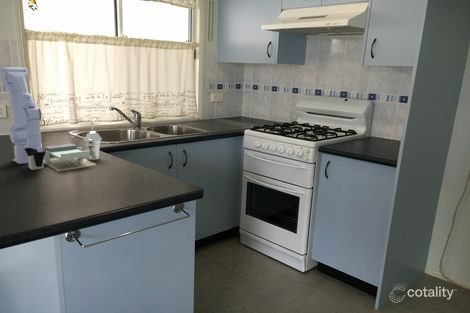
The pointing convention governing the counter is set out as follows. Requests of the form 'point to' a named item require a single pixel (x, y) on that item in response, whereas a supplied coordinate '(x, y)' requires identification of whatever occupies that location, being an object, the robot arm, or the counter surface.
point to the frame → (66, 162)
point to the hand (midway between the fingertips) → (36, 164)
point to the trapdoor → (66, 151)
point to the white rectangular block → (33, 163)
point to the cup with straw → (93, 143)
